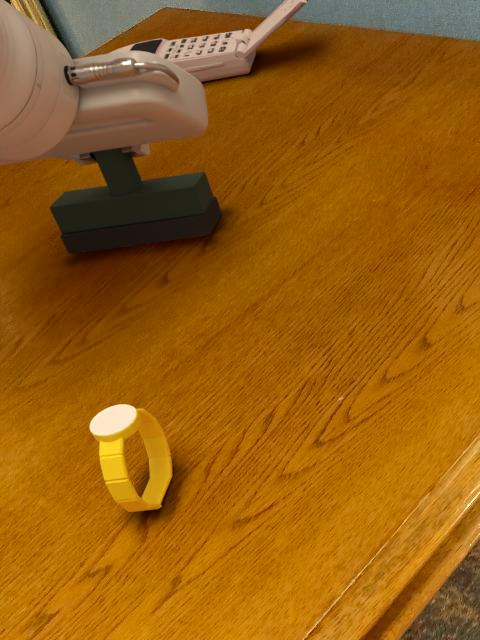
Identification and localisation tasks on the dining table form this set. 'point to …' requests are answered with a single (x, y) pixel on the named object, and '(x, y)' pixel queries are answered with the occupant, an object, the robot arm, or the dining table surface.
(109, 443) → the watch
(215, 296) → the dining table surface
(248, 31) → the mobile phone
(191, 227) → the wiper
